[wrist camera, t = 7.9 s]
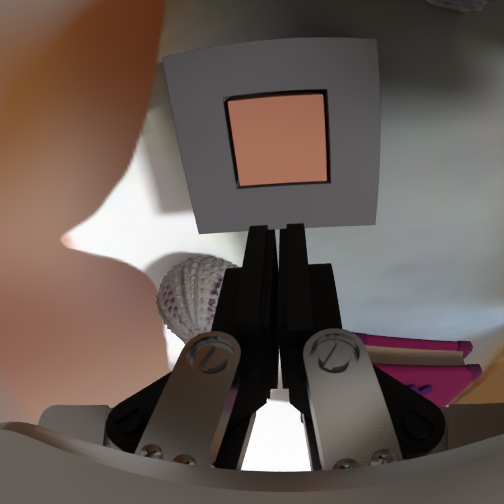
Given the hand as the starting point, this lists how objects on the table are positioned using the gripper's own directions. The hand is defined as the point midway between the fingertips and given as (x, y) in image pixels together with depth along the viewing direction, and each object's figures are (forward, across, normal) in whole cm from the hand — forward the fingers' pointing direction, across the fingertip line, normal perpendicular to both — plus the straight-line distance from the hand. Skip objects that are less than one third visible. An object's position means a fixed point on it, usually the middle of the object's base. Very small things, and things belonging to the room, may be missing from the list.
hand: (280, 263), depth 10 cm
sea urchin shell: (+21, +10, +20) cm, 31 cm away
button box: (+21, 0, 0) cm, 21 cm away
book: (+22, -17, +43) cm, 51 cm away
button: (+18, 0, 0) cm, 18 cm away
